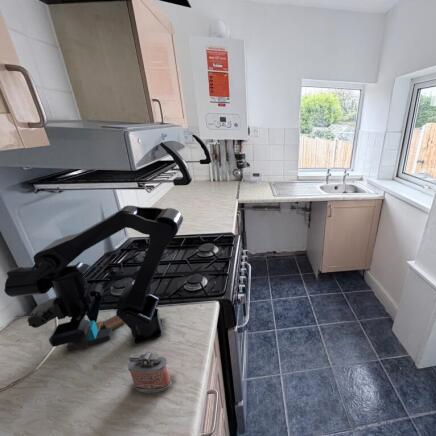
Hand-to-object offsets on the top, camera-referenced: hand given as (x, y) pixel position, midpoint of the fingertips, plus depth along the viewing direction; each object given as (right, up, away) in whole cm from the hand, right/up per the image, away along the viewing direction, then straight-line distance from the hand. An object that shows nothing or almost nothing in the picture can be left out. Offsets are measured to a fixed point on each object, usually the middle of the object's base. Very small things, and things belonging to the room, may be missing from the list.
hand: (89, 334), depth 64 cm
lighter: (+23, -7, -9) cm, 26 cm away
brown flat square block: (+2, 0, +6) cm, 6 cm away
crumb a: (-2, -1, +3) cm, 4 cm away
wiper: (0, -2, +1) cm, 2 cm away
